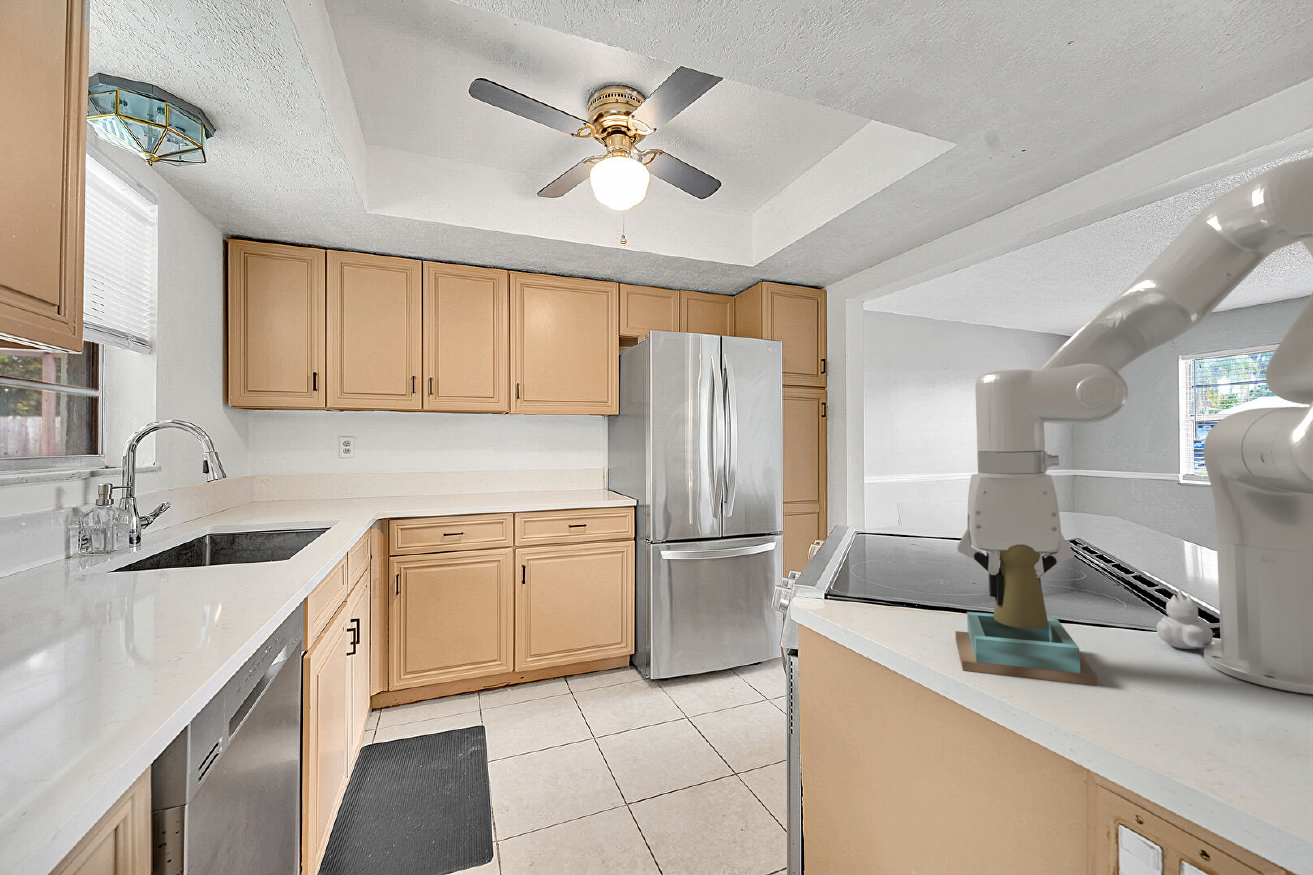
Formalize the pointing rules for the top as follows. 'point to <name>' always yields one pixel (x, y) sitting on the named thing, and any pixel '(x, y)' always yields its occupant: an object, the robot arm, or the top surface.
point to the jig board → (1022, 651)
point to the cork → (1021, 590)
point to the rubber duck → (1183, 624)
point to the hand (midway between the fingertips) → (1014, 602)
